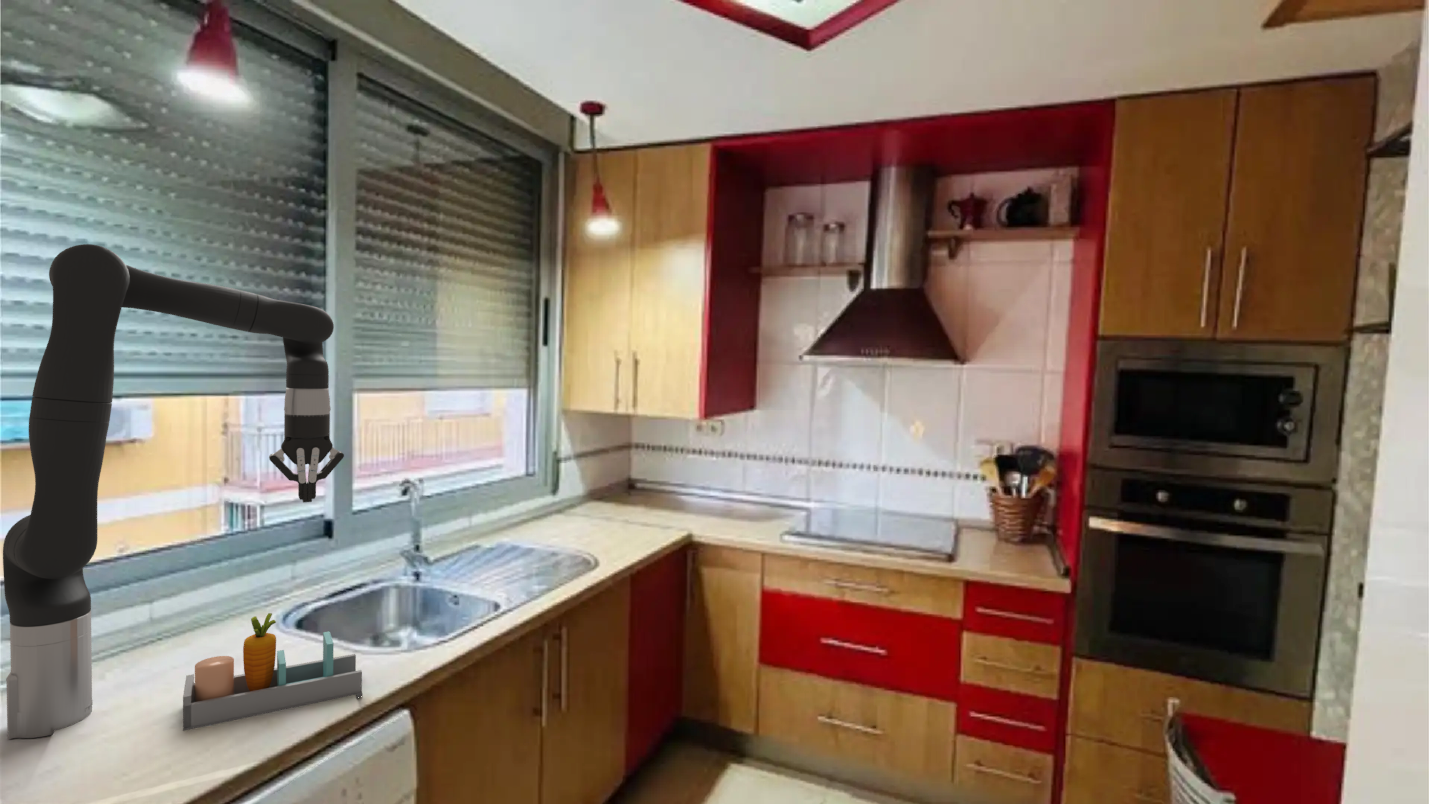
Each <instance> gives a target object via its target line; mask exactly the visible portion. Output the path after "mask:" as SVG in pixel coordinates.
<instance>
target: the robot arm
mask: <svg viewBox="0 0 1429 804" xmlns="http://www.w3.org/2000/svg"><path fill="white" fill-rule="evenodd" d="M48 278H49V281H50V284H51V286H52V321H51V329H50V334H49V336H48V337H49V338H48V342H47V344H46V347H45V349H44V353H43V356H42V358H41V361H40V363H39V367H38V370H37V375H36V378H35V382H34V385H33V386H34V387H33V391H32V395H31V396H32V397H31V405H30V409H29V410H30V412H29V417H28V442H29V448H30V455H31V461H32V466H33V473H34V479H35V480H34V481H35V482H34V484H35V485H34V494H33V495H34V496H33V501H32V506H31V511H30V514H28V515H27V516H24V517H22V518H21V519H20V520H18V521H16V523H14V524H13V525H12V526H11V528H10V529H8V531H7V533H6V535H5V538H4V540H3V546H2V568H3V587H4V598H5V602H6V607H7V608H8V613H9V615H8V616H9V641H10V642H9V643H10V645H9V646H10V648H9V649H10V653H9V654H10V672H9V674H8V675H7V677H6V678H5V679H6V717H7V718H6V724H7V725H6V726H7V727H6V734H7V735H6V736H7V739H8V740H10V739H11V740H12V739H17V738H21V739H22V738H23V739H33V738H41V737H47V736H51V735H54V733H55V731H58V730H61V729H64V728H67V727H70V726H73V725H75V724H77V723H80V722H82V721H83V720H85V719H86V718H88V717H89V716H91V713H92V712H93V666H92V662H93V661H92V660H93V659H92V658H93V657H92V654H93V653H92V597H91V594H90V591H89V589H88V586H87V584H86V581H85V577H84V570H83V569H84V568H85V566H87V564H88V563H89V562H90V561H91V559H92V557H94V555H95V552H96V550H97V545H98V497H99V496H98V494H99V493H98V490H99V482H100V476H101V472H102V467H103V463H104V455H105V451H106V443H107V436H108V431H109V428H110V427H109V426H110V421H111V413H112V406H113V396H114V395H113V393H114V392H113V391H114V383H115V338H116V331H117V328H118V322H119V318H120V314H121V311H122V308H126V309H134V310H140V311H141V310H144V311H150V312H156V313H162V314H167V315H169V316H170V315H171V316H176V317H179V318H180V317H181V318H183V319H184V318H185V319H189V320H194V321H198V322H201V323H205V324H209V325H210V324H211V325H213V326H217V327H221V328H222V327H223V328H227V329H233V330H236V331H241V332H242V331H243V332H247V333H252V334H260V335H261V334H263V335H270V336H275V337H280V338H282V343H283V348H284V354H285V356H284V357H285V361H286V371H285V373H286V374H285V381H286V382H285V383H286V384H285V395H284V407H283V411H284V420H283V421H284V426H283V428H284V434H283V435H284V438H283V441H282V443H281V445H280V449H278V450H277V451H275V452H274V453H270V454H269V457H268V459H269V461H270V462H271V463H272V464H273V465H274V466H275V467H276V468H277V470H278V471H280V473H282V474H283V476H284V477H285V478H286V479H287V480H288V481H292V482H293V481H294V482H296V483H297V484H298V486H297V487H298V488H297V489H298V498H299V500H300V501H302V503H312V501H313V500H315V499H316V496H317V482H318V481H321V480H325V479H326V478H327V477H328V476H329V475H330V474H331V472H332V471H333V470H335V468H336V467H337V465H339V463H340V462H341V461H342V460H343V459H344V458H345V454H344V453H343V452H342V451H339V450H338V449H336V448H334V447H333V446H334V444H333V442H332V440H331V438H330V437H331V436H330V434H331V430H330V428H331V425H330V424H331V423H330V422H331V413H330V412H331V408H332V407H331V398H330V392H329V383H330V382H329V381H330V380H329V378H330V376H329V375H330V374H329V372H330V371H329V369H330V368H329V363H328V361H327V360H326V359H325V358H324V348H323V347H324V346H323V343H324V342H325V341H327V340H328V339H330V337H331V336H332V335H333V332H334V327H335V325H334V321H333V318H332V317H331V316H330V314H328V312H327V311H325V310H324V309H322V308H320V307H316V306H313V305H309V304H303V303H298V302H292V301H287V300H282V299H281V300H278V299H275V298H274V299H273V298H272V297H271V298H270V297H267V296H264V295H262V294H257V293H253V292H249V291H245V290H241V289H238V288H237V289H236V288H232V287H228V286H222V285H217V284H212V283H211V284H210V283H205V282H198V281H197V282H196V281H192V280H191V281H190V280H184V279H177V278H175V277H174V278H172V277H167V276H164V275H160V274H156V273H152V272H148V271H146V270H141V269H139V268H136V267H134V266H131V265H129V264H128V265H127V264H126V263H125V262H124V260H123V259H122V257H120V256H119V255H118V254H116V253H115V252H114V251H112V250H111V249H109V248H107V247H104V246H101V245H98V244H91V243H90V244H89V243H84V244H83V243H82V244H77V245H73V246H70V247H67V248H66V249H63V250H62V251H60V252H59V253H58V254H57V255H56V256H55V257H54V259H53V260H52V262H51V264H50V267H49V271H48ZM284 454H285V455H286V457H287V458H288V459H289V460H290V461H291V462H292V463H293V464H294V465H296V471H297V472H296V473H294V472H293V471H292V470H291V469H290V468H289V467H288V466H287V465H286V464H285V463H284V461H285V456H284ZM327 455H328V459H329V460H328V462H326V464H324V466H323V467H322V468H321V470H320V471H318V469H319V464H320V463H322V462H323V460H324V459H325V458H326V457H327ZM306 465H308V475H307V474H306ZM307 480H308V481H307Z"/></svg>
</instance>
